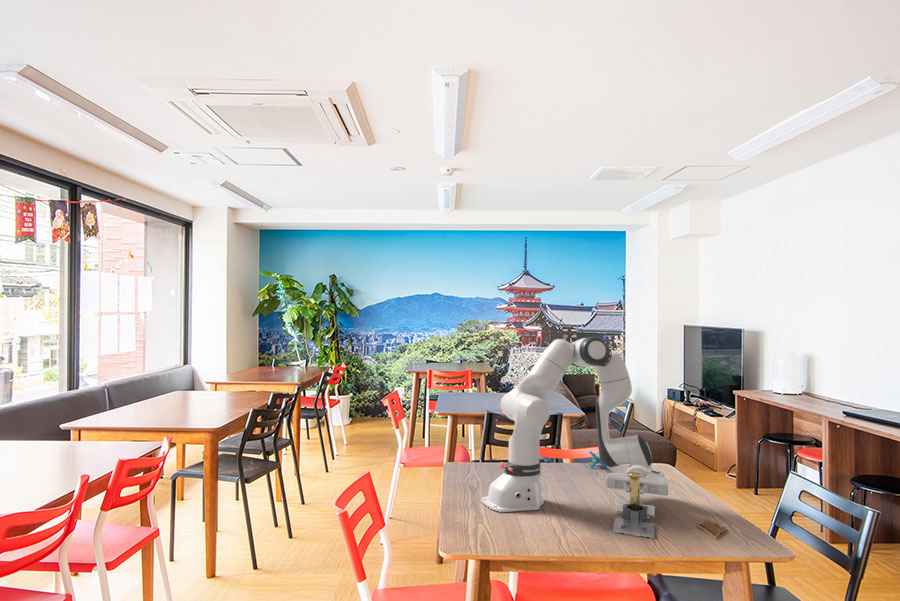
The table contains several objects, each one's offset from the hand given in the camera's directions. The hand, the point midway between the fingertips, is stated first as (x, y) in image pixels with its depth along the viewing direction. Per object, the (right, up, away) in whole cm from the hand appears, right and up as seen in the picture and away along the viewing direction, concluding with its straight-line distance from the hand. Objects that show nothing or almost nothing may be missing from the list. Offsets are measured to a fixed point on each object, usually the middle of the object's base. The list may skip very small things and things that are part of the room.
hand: (634, 490), depth 166 cm
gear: (+6, -13, +62) cm, 63 cm away
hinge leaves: (0, -10, 0) cm, 10 cm away
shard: (+22, -10, -9) cm, 26 cm away
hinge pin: (0, -8, 0) cm, 8 cm away
